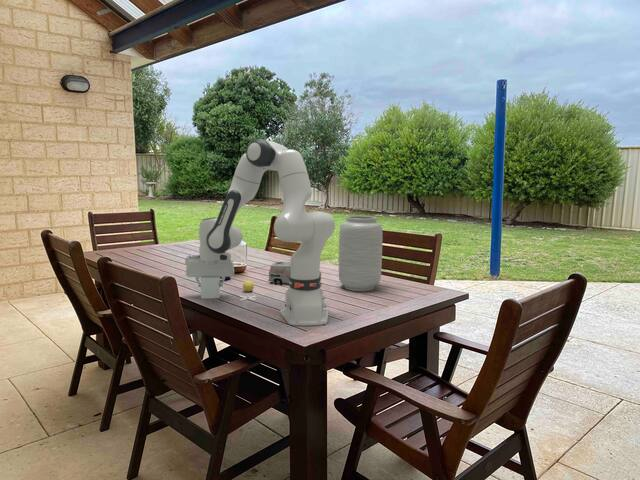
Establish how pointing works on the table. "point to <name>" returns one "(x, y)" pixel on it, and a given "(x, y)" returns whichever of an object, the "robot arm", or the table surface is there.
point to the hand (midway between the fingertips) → (210, 286)
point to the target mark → (247, 298)
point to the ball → (248, 285)
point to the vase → (360, 253)
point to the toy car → (281, 273)
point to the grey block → (210, 287)
